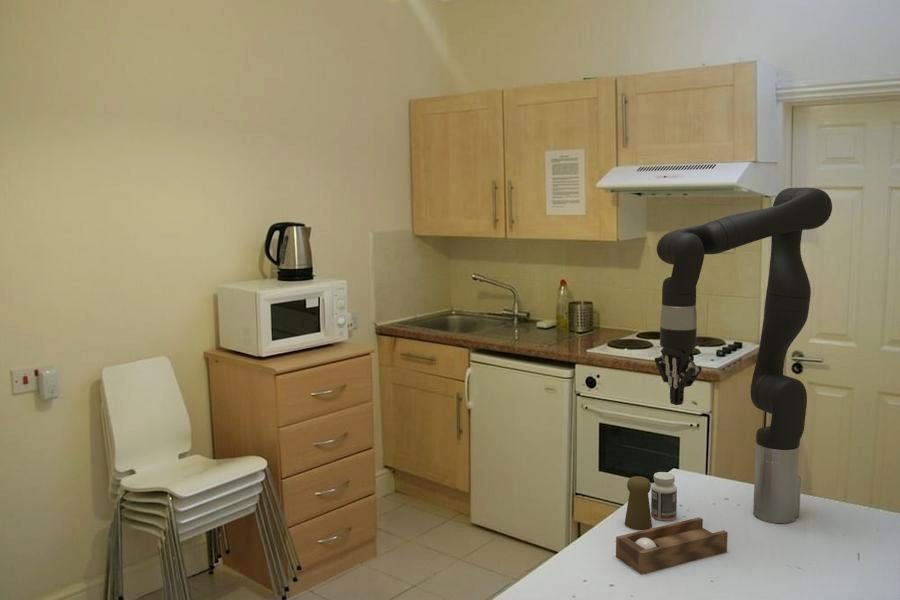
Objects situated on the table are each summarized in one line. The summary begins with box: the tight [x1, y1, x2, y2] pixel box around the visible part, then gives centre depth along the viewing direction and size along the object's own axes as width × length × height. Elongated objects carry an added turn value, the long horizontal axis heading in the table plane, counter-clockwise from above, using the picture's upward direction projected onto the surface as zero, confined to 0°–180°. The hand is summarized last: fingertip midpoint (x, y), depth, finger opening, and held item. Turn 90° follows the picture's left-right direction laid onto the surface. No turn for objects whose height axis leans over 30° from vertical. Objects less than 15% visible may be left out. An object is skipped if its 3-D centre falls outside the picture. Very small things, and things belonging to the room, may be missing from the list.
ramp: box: [615, 517, 729, 575], centre depth 163 cm, size 22×8×4 cm, turn 114°
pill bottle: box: [650, 471, 678, 522], centre depth 182 cm, size 6×6×10 cm
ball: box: [635, 538, 656, 549], centre depth 161 cm, size 5×5×5 cm
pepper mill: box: [624, 475, 653, 531], centre depth 178 cm, size 6×6×11 cm
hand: (676, 403), depth 171 cm, fingers closed
